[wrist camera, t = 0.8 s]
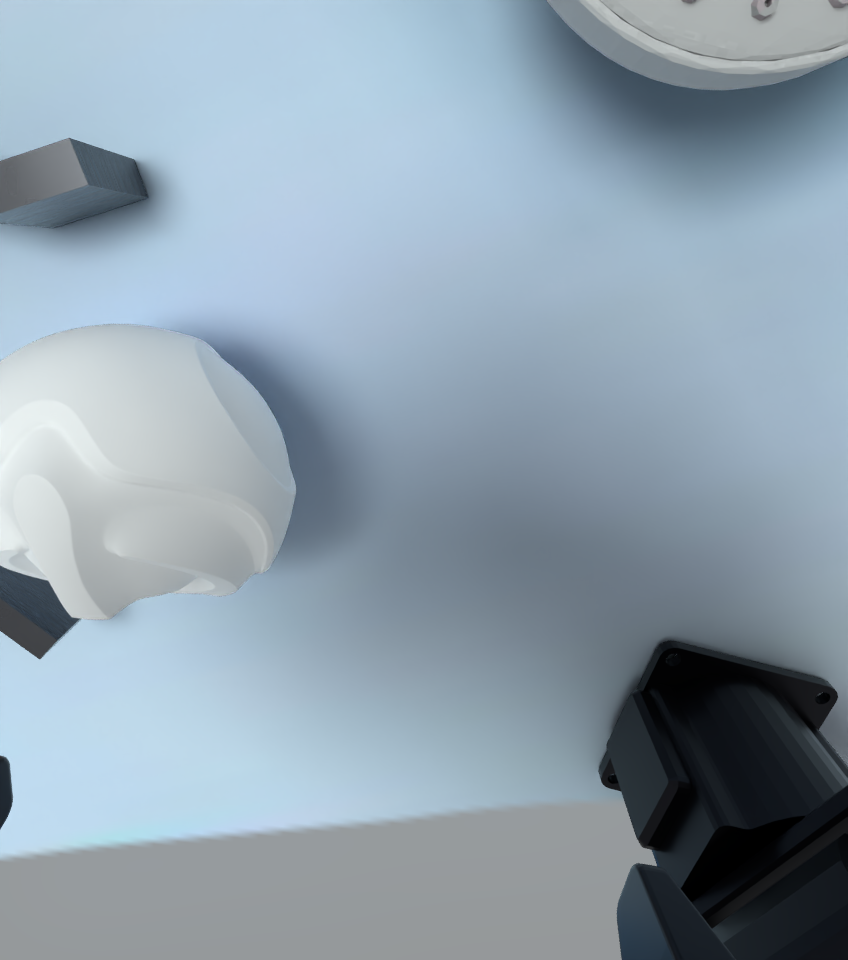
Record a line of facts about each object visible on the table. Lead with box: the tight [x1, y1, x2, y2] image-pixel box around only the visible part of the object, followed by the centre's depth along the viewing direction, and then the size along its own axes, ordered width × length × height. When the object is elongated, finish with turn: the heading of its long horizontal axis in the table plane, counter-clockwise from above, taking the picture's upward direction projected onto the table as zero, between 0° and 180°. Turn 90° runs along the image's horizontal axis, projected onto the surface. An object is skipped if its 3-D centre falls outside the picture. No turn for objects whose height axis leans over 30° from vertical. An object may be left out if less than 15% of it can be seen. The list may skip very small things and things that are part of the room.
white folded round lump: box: [0, 324, 296, 620], centre depth 16 cm, size 8×8×8 cm
